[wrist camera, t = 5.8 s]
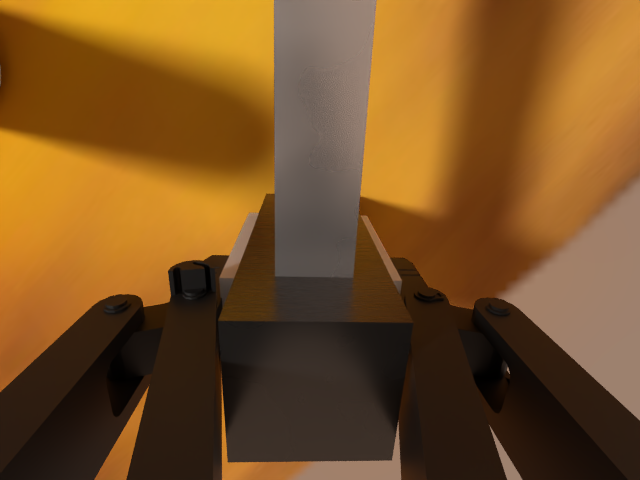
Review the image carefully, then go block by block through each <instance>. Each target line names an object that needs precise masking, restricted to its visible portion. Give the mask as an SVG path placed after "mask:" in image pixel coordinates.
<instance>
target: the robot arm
mask: <svg viewBox="0 0 640 480" xmlns="http://www.w3.org/2000/svg"><path fill="white" fill-rule="evenodd" d="M258 214H259V213H249V214H248V216H247V218H246V221H245V223H244V225H243V227H242V229H241V231H240V234H239V236H238V238H237V240H236V242H235V245H234V247H233V249H232V251H231V253H230V255H229V256H227V255H212V256H210V257H209V258H207V259H205V260H204V261H200V260H192V261H185V262H182V263H178V264H176V265H174V266H172V267H171V268H170V269H169V271H168V274H169V282H170V291H171V298H170V302H168V303H165V304H160V305H154V306H148V307H143V302H142V300H141V298H140V297H138V296H136V295H129V294H125V295H122V294H119V295H115V296H110V297H108V298H106V299H103V300H101V301H99V302H98V303H96V304H95V305H93V306H92V307H91V308H90V309H89V310H88V311H87V312H86V313H85V314H84V315H83V316H82V317H81V318H79V319H78V320H77V321H76V322H75V323H74V324H73V325H72V326H71V327H70V328H69V329H68V330H67V331H66V332H64V333H63V334H62V335H61V336H60V337H59V338H58V339H57V340H56V341H55V342H54V343H53V344H52V345H50V346H49V347H48V348H47V349H46V350H45V351H44V352H43V353H42V354H41V355H40V356H39V357H38V358H37V359H35V360H34V361H33V362H32V363H31V364H30V365H29V366H28V367H27V368H26V369H25V370H24V371H23V372H22V373H20V374H19V375H18V376H17V377H16V378H15V379H14V380H13V381H12V382H11V383H10V384H9V385H8V386H7V387H5V388H4V389H3V390H2V391H1V392H0V480H94V479H95V477H96V475H97V474H98V472H99V470H100V468H101V467H102V465H103V463H104V462H105V460H106V458H107V456H108V455H109V453H110V451H111V449H112V448H113V446H114V444H115V443H116V441H117V439H118V437H119V436H120V434H121V432H122V431H123V429H124V427H125V425H126V424H127V422H128V420H129V419H130V417H131V415H132V413H133V412H134V410H135V408H136V407H137V405H138V403H139V401H140V400H141V398H142V396H143V395H144V393H145V391H146V389H147V388H148V386H149V389H148V393H147V397H146V401H145V405H144V410H143V414H142V418H141V422H140V426H139V430H138V434H137V438H136V443H135V447H134V451H133V455H132V459H131V463H130V467H129V471H128V476H127V480H222V395H221V357H220V342H219V328H218V319H219V317H220V314H221V312H222V309H223V306H224V304H225V301H226V298H227V296H228V293H229V291H230V288H231V285H232V283H233V280H234V277H235V275H236V272H237V270H238V267H239V264H240V262H241V259H242V256H243V254H244V251H245V248H246V246H247V243H248V241H249V238H250V235H251V233H252V230H253V227H254V225H255V222H256V220H257V217H258ZM361 217H362V219H363V221H364V223H365V225H366V227H367V229H368V232H369V234H370V236H371V238H372V240H373V242H374V244H375V246H376V248H377V250H378V252H379V254H380V256H381V258H382V260H383V262H384V264H385V266H386V268H387V270H388V272H389V274H390V276H391V278H392V280H393V282H394V284H395V286H396V288H397V290H398V292H399V294H400V296H401V298H402V300H403V302H404V304H405V306H406V308H407V310H408V312H409V314H410V316H411V318H412V321H413V330H412V336H411V342H410V349H409V355H408V361H407V368H406V374H405V380H404V387H403V393H402V399H401V406H400V412H399V418H398V420H399V439H400V460H401V480H507V478H506V475H505V472H504V469H503V466H502V463H501V460H500V457H499V454H498V451H497V448H496V445H495V442H494V438H493V435H492V432H491V430H490V427H491V428H492V430H493V431H494V433H495V435H496V437H497V438H498V440H499V441H500V443H501V445H502V446H503V448H504V450H505V451H506V453H507V455H508V456H509V458H510V459H511V461H512V463H513V464H514V466H515V468H516V469H517V471H518V472H519V474H520V476H521V478H522V479H523V480H640V421H639V420H638V419H637V418H636V417H635V416H634V415H633V414H632V413H631V412H630V411H629V410H627V409H626V408H625V407H624V406H623V405H622V404H621V403H620V402H619V401H618V400H617V399H616V398H615V397H614V396H612V395H611V394H610V393H609V392H608V391H607V390H606V389H605V388H604V387H603V386H602V385H600V384H599V383H598V382H597V381H596V380H595V379H594V378H593V377H592V376H591V375H590V374H589V373H588V372H586V371H585V370H584V369H583V368H582V367H581V366H580V365H579V364H578V363H577V362H576V361H575V360H574V359H572V358H571V357H570V356H569V355H568V354H567V353H566V352H565V351H564V350H563V349H562V348H561V347H559V346H558V345H557V344H556V343H555V342H554V341H553V340H552V339H551V338H550V337H549V336H548V335H546V334H545V333H544V332H543V331H542V330H541V329H540V328H539V327H538V326H536V325H535V324H534V323H533V322H532V321H531V320H530V319H529V318H528V317H527V316H526V315H525V314H524V313H523V312H521V311H520V310H519V309H518V308H517V307H515V306H514V305H512V304H510V303H508V302H506V301H505V300H502V299H500V300H499V299H498V298H481V299H478V300H477V301H476V302H475V305H474V310H471V309H466V308H460V307H456V306H452V305H450V304H449V301H448V299H447V297H446V296H445V295H444V294H443V293H441V292H440V291H438V290H435V289H433V288H428V286H427V285H426V283H425V282H424V280H423V278H422V277H421V276H420V274H419V272H418V271H417V269H416V268H415V266H414V265H413V263H411V262H410V261H408V260H406V259H405V258H390V257H389V255H388V254H387V252H386V250H385V248H384V246H383V244H382V243H381V241H380V239H379V237H378V235H377V233H376V231H375V230H374V228H373V226H372V224H371V222H370V220H369V218H368V217H367V216H361ZM507 367H508V368H509V371H510V374H509V373H508V371H507ZM149 384H150V385H149ZM489 425H490V426H489Z"/></svg>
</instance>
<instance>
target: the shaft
mask: <svg viewBox="0 0 640 480" xmlns="http://www.w3.org/2000/svg"><path fill="white" fill-rule="evenodd" d="M375 11H376V0H274V123H275V194H266V196H265V199H264V201H263V204H262V206H261V209H260V212H259V214H258V217H257V220H256V222H255V225H254V227H253V230H252V233H251V235H250V238H249V241H248V243H247V246H246V248H245V251H244V254H243V256H242V259H241V262H240V264H239V267H238V270H237V272H236V275H235V277H234V280H233V283H232V285H231V288H230V291H229V293H228V296H227V298H226V301H225V304H224V306H223V309H222V312H221V314H220V317H219V319H218V328H219V342H220V357H221V371H222V385H223V400H224V414H225V428H226V443H227V457H228V462H292V461H372V460H373V461H375V460H376V461H377V460H378V461H379V460H392V456H393V449H394V443H395V437H396V431H397V424H398V418H399V412H400V406H401V399H402V393H403V387H404V380H405V374H406V368H407V361H408V355H409V349H410V342H411V336H412V330H413V321H412V318H411V316H410V314H409V312H408V310H407V308H406V306H405V304H404V302H403V300H402V298H401V296H400V294H399V292H398V290H397V288H396V286H395V284H394V282H393V280H392V278H391V276H390V274H389V272H388V270H387V268H386V266H385V264H384V262H383V260H382V258H381V256H380V254H379V252H378V250H377V248H376V246H375V244H374V242H373V240H372V238H371V236H370V234H369V232H368V229H367V227H366V225H365V223H364V221H363V219H362V217H361V215H360V213H359V202H360V190H361V178H362V167H363V155H364V143H365V131H366V119H367V107H368V95H369V83H370V71H371V59H372V47H373V35H374V23H375Z"/></svg>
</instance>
